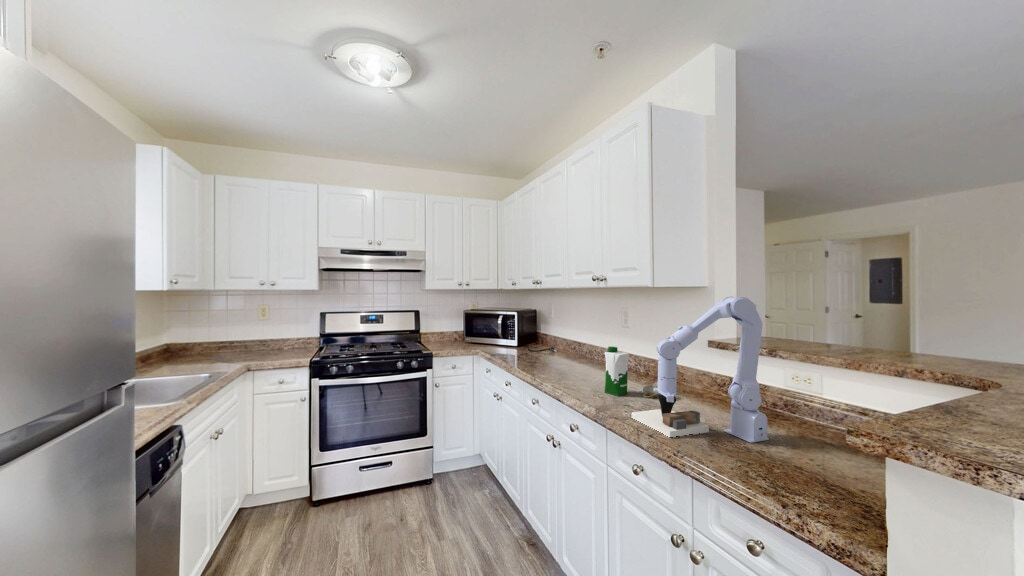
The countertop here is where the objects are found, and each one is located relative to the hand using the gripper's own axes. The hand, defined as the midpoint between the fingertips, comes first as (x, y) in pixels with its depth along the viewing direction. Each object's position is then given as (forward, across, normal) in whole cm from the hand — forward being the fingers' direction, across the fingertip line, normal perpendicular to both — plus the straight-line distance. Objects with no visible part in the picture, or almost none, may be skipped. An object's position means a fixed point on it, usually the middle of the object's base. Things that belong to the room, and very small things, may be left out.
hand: (665, 417), depth 120 cm
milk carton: (+4, -37, -15) cm, 40 cm away
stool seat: (+3, -3, +1) cm, 5 cm away
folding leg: (+1, 0, +5) cm, 5 cm away
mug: (+4, -37, +1) cm, 37 cm away
